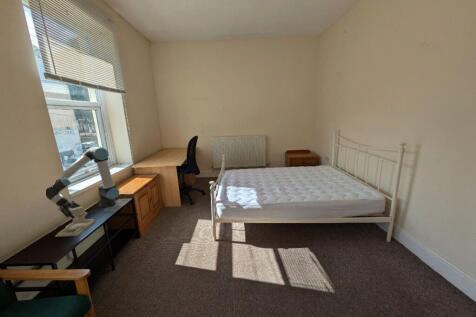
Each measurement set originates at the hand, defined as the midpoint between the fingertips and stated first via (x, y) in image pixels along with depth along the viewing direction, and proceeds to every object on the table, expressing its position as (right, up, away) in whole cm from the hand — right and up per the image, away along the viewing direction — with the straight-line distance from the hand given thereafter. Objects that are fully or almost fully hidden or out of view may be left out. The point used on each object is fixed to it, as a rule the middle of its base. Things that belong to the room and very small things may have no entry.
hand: (82, 217), depth 173 cm
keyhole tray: (-3, -9, -3) cm, 10 cm away
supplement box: (-3, -5, +1) cm, 6 cm away
